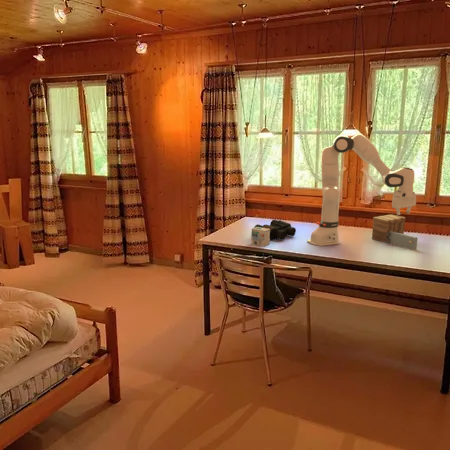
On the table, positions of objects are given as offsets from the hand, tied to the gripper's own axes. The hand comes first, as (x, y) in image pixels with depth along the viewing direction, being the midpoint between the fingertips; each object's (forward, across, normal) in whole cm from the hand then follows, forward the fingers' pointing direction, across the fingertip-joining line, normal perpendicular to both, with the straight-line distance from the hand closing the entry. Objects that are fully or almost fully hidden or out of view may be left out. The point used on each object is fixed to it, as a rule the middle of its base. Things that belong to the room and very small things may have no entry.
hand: (403, 213), depth 287 cm
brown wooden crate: (+21, -7, -14) cm, 27 cm away
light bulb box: (+22, +75, -52) cm, 95 cm away
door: (+22, 0, +1) cm, 22 cm away
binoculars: (+22, +54, -62) cm, 85 cm away
